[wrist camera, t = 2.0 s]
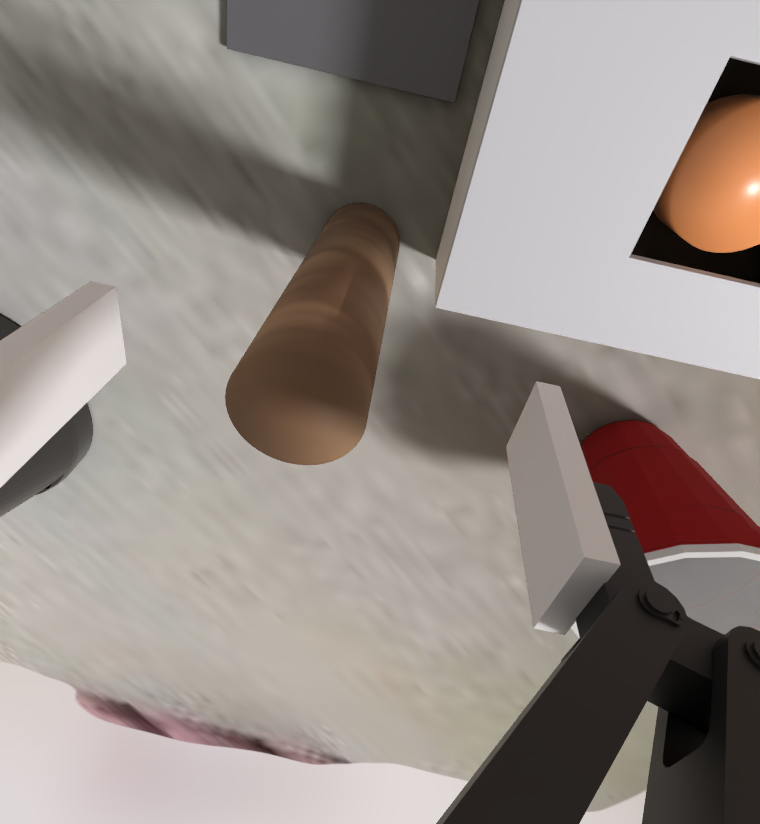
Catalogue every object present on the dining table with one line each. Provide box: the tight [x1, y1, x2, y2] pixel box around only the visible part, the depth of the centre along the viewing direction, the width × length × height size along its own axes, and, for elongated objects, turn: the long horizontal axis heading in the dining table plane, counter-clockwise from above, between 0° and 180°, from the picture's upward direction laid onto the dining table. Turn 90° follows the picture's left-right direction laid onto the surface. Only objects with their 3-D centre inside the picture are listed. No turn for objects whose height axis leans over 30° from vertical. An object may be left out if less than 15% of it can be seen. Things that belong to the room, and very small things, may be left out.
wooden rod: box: [225, 203, 399, 465], centre depth 20 cm, size 4×4×15 cm
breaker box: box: [436, 0, 760, 379], centre depth 20 cm, size 20×14×6 cm
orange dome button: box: [653, 94, 760, 253], centre depth 19 cm, size 5×5×2 cm
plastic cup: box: [571, 420, 760, 638], centre depth 28 cm, size 11×11×12 cm
